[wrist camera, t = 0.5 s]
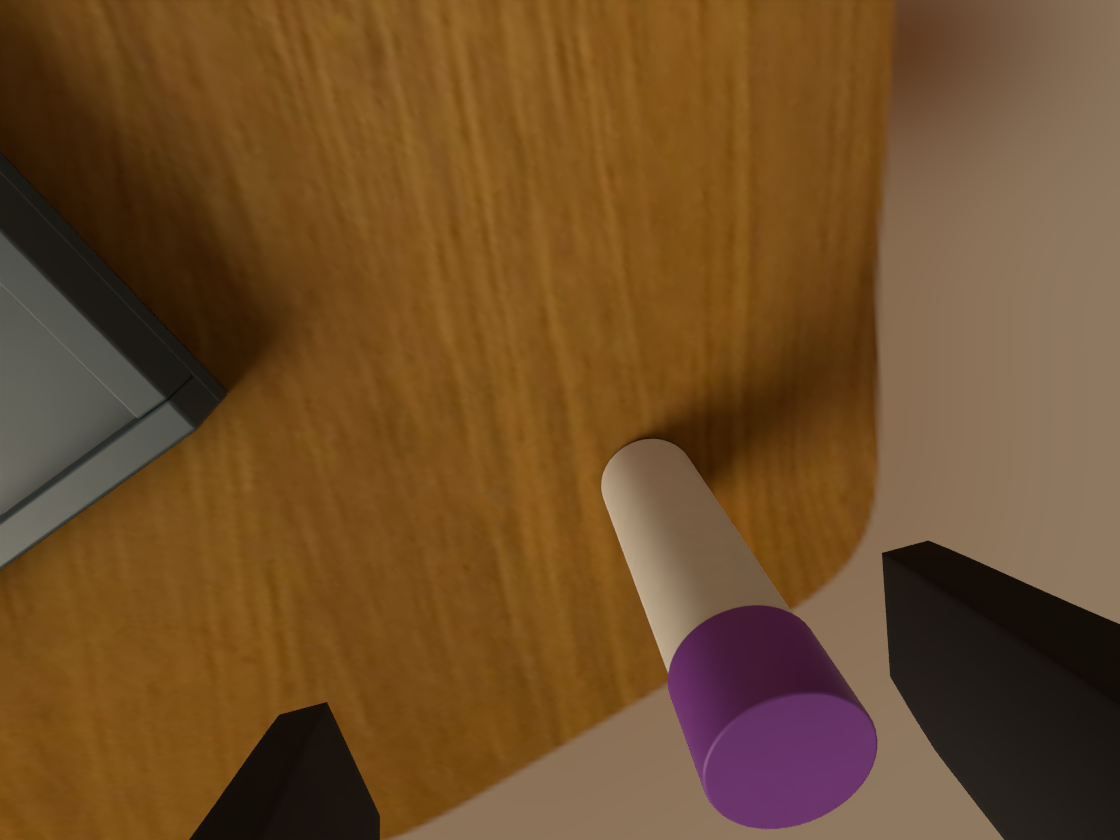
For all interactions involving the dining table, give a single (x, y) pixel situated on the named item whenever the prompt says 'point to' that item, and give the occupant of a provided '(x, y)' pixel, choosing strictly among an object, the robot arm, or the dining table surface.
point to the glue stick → (734, 651)
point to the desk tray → (77, 374)
